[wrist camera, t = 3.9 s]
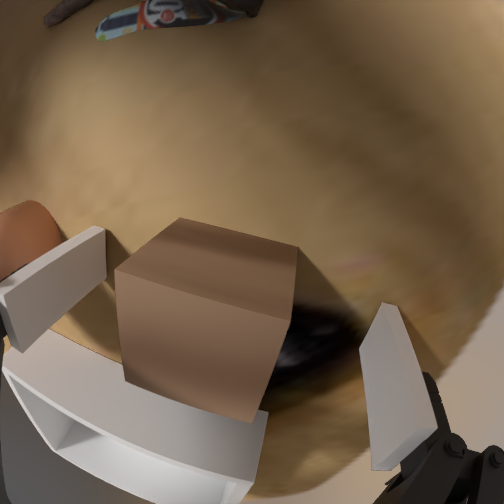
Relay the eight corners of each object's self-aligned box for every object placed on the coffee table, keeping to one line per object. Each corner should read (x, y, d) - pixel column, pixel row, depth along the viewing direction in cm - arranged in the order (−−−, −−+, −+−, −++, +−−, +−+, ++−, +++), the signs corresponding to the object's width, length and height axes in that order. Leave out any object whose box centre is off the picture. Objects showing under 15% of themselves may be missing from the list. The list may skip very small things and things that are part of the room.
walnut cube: (180, 216, 12) (114, 269, 8) (298, 246, 12) (290, 320, 7) (172, 311, 14) (125, 381, 10) (270, 339, 14) (251, 423, 9)
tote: (38, 322, 18) (-3, 361, 13) (268, 412, 16) (254, 482, 12) (73, 417, 23) (51, 450, 19) (234, 481, 22) (223, 523, 17)
